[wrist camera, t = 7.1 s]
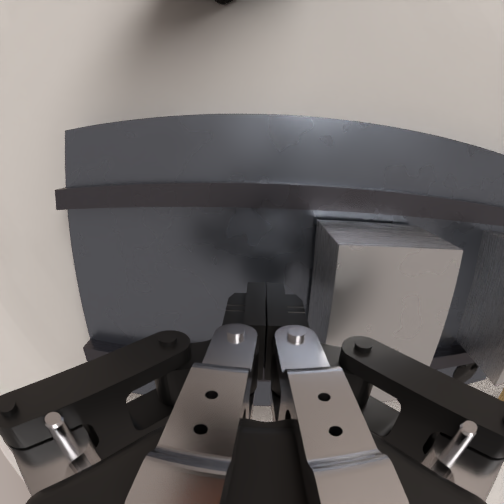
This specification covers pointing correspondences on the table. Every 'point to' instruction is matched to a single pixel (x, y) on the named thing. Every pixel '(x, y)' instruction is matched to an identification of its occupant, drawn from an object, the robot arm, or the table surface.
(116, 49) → the table surface
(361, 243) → the block
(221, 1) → the battery
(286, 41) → the table surface
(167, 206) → the dark grey piece
